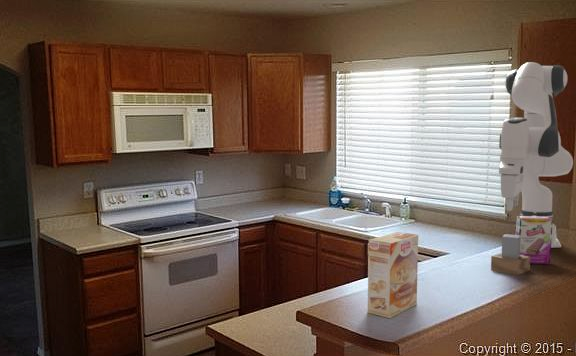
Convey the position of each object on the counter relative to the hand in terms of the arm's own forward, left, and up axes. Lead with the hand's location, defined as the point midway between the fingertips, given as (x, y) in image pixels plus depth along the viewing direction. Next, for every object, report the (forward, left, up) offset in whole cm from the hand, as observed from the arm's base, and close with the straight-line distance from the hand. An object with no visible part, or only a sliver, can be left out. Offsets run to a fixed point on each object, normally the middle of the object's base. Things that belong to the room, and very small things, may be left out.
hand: (512, 208), depth 188 cm
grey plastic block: (0, 0, -16) cm, 16 cm away
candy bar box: (-15, +5, -21) cm, 26 cm away
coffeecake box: (+58, -20, -21) cm, 65 cm away
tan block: (0, 0, -21) cm, 21 cm away
